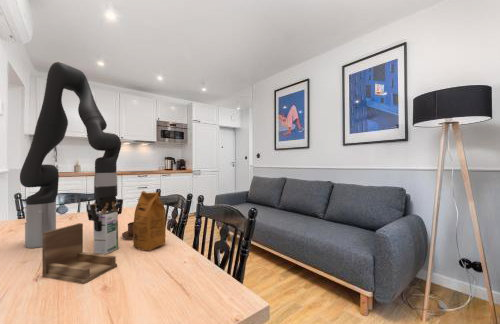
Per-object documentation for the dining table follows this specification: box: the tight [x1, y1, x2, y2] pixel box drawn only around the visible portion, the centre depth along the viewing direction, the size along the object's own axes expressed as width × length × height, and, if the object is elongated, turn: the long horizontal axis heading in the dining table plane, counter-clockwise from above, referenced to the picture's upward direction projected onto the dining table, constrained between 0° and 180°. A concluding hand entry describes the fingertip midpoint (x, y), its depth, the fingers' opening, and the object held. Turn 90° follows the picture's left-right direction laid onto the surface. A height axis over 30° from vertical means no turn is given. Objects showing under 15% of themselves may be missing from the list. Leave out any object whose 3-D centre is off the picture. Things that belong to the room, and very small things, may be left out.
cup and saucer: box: [121, 221, 134, 240], centre depth 104 cm, size 12×12×6 cm
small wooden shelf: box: [41, 222, 118, 285], centre depth 70 cm, size 16×11×13 cm
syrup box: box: [93, 211, 119, 255], centre depth 87 cm, size 6×6×14 cm
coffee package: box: [132, 190, 167, 251], centre depth 92 cm, size 10×12×22 cm
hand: (106, 228), depth 87 cm, fingers closed on syrup box, 6 cm apart
